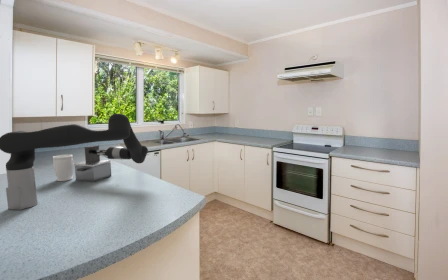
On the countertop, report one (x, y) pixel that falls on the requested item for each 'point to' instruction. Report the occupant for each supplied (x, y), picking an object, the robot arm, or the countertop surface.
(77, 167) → the grey rectangular container
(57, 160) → the jar
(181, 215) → the countertop surface
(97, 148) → the lid
